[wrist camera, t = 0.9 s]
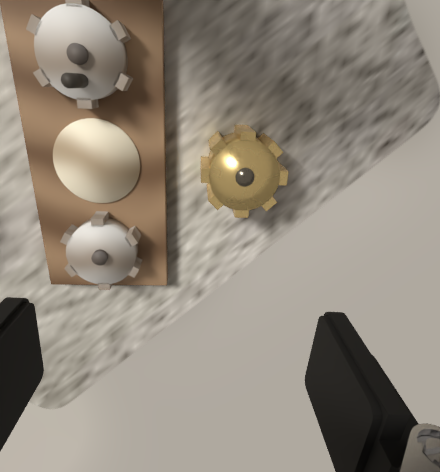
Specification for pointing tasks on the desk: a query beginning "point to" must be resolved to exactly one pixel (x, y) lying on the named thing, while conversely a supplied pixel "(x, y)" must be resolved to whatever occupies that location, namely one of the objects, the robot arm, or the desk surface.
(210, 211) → the desk surface
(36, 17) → the gear board
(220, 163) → the brass gear
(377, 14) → the desk surface
